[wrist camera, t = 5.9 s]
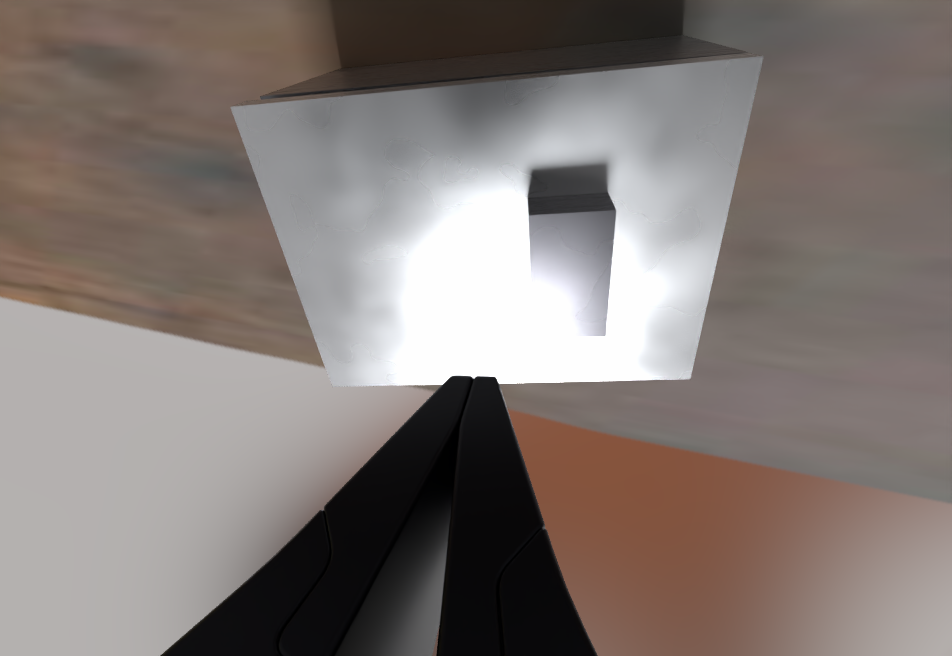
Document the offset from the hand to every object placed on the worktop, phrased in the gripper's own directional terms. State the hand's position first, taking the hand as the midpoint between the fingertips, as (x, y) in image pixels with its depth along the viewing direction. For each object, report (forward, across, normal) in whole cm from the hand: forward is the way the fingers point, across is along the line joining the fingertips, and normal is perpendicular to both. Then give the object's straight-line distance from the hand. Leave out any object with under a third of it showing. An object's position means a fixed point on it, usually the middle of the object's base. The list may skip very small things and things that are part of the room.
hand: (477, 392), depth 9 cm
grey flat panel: (+6, 0, 0) cm, 6 cm away
